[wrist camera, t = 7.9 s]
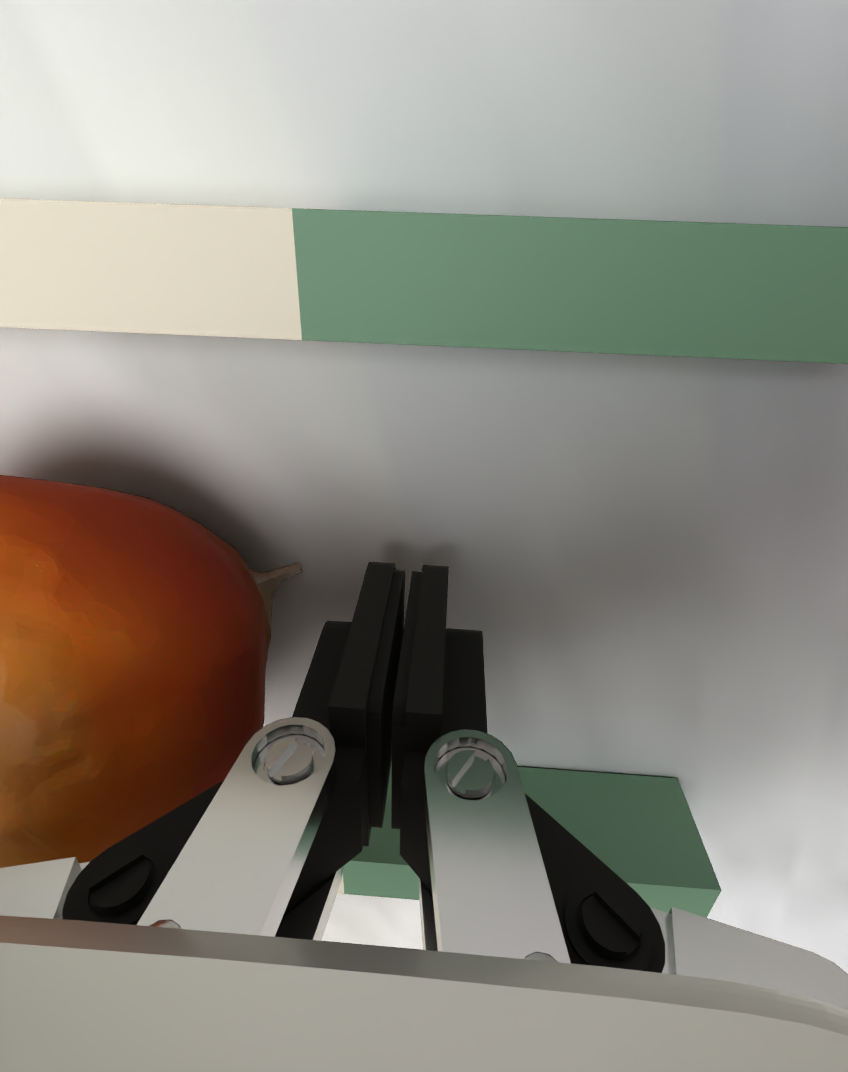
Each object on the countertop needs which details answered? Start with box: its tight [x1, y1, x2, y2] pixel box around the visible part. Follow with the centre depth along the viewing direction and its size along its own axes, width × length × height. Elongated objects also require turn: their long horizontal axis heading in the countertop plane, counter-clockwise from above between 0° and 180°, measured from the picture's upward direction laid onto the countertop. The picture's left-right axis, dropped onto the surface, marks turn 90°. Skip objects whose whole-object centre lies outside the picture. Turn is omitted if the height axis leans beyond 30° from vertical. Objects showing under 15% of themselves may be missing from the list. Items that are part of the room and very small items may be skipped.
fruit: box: [0, 475, 302, 868], centre depth 11 cm, size 8×8×8 cm
